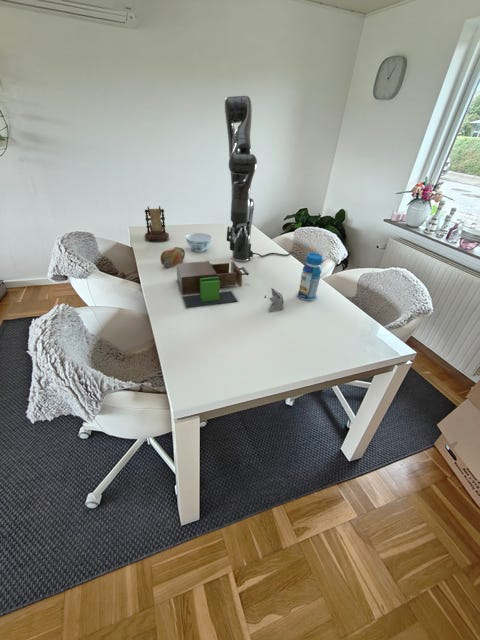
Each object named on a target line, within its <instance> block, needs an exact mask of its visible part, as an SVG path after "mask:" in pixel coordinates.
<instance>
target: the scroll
mask: <svg viewBox="0 0 480 640" xmlns="http://www.w3.org/2000/svg"><path fill="white" fill-rule="evenodd" d="M164 212H165V209H164V208H161V206H160V205H159V206H158V208H150V207H149V206H147V209H144V213H145V222H146V227H145V228H146V229H147V231H146V233H145V234H144V238H145V239H146V240H149V242H150V243H151V242H152V241H157V242H158V241H164V240H165V242H167V240H168V239H169V237H170V234H169V233H168V232H167V231H166V223H165V221H166V216H165V213H164Z"/></svg>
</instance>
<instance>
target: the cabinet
mask: <svg viewBox="0 0 480 640" xmlns="http://www.w3.org/2000/svg"><path fill="white" fill-rule="evenodd" d="M211 264H212V263H211V262H210V261H209V260H205V261H194V262H192V261H191V262H181V263H179V264H176V265H175V266H176V280H177V283H178V285H179V289H180V291H181V294H182V295H184V296H186V295H195V294H200V279H201V278H209V277H217V274H216V272H215V270H214V269H213V267H212V265H211Z"/></svg>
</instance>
